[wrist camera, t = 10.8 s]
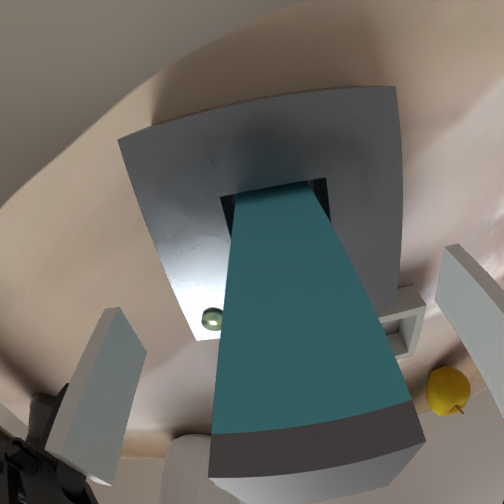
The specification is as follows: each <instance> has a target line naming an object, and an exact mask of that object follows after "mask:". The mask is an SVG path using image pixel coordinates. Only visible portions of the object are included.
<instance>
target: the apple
mask: <svg viewBox="0 0 504 504" xmlns="http://www.w3.org/2000/svg"><path fill="white" fill-rule="evenodd" d="M470 391H471V389H470V383H469V381H468V379H467V378H466V376H465V375H464V374H463V373H462V372H460V371H459V370H457V369H455V368H452V367H450V366H442V367H440V368H437V369H435V370H433V371H431V373H430V375H429V376H428V379H427V383H426V398H427V402H428V404H429V406H430V408H431V409H432V410H433V411H434V412H435V413H436V414H438V415H440V416H447V415H451V414H454V413H456V412H458V411H460V412H461V413H462V414H464V412H463V411H462V410H461V409H463V408H464V406H465V405H466V403H467V401H468V398H469V395H470Z"/></svg>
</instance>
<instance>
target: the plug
mask: <svg viewBox="0 0 504 504" xmlns="http://www.w3.org/2000/svg"><path fill="white" fill-rule="evenodd" d="M425 442H426V439H425V436H424V434H423V430H422V427H421V424H420V422H419V419H418V416H417V413H416V410H415V407H414V404H413V402H412V399H411V396H410V394H409V391H408V388H407V386H406V383H405V381H404V378H403V375H402V373H401V370H400V368H399V365H398V363H397V361H396V358H395V356H394V353H393V351H392V349H391V346H390V344H389V341H388V339H387V337H386V335H385V332H384V330H383V328H382V326H381V323H380V321H379V319H378V317H377V314H376V312H375V310H374V308H373V306H372V304H371V302H370V299H369V297H368V295H367V293H366V291H365V289H364V287H363V285H362V283H361V281H360V279H359V277H358V275H357V273H356V271H355V269H354V267H353V265H352V263H351V261H350V259H349V257H348V255H347V253H346V251H345V249H344V247H343V245H342V243H341V241H340V240H339V238H338V236H337V234H336V232H335V230H334V228H333V227H332V225H331V223H330V221H329V219H328V217H327V216H326V214H325V212H324V210H323V209H322V207H321V205H320V203H319V201H318V200H317V198H316V196H315V195H314V193H313V191H312V189H311V188H310V186H309V184H308V183H307V181H300V182H294V183H288V184H283V185H277V186H272V187H266V188H261V189H256V190H251V191H246V192H241V193H237V196H236V204H235V212H234V219H233V227H232V236H231V244H230V252H229V261H228V269H227V278H226V287H225V296H224V305H223V314H222V323H221V333H220V343H219V352H218V363H217V373H216V384H215V394H214V406H213V417H212V429H211V441H210V454H209V467H208V478H209V479H210V480H212V481H213V482H214V483H216V484H217V485H219V486H220V487H221V488H223V489H224V490H226V491H227V492H229V493H230V494H232V495H233V496H235V497H237V498H238V499H240V500H241V501H243V502H245V503H246V504H303V503H310V502H317V501H323V500H329V499H334V498H340V497H345V496H349V495H354V494H358V493H362V492H366V491H370V490H374V489H377V488H381V487H384V486H388V485H389V484H390V483H391V482H392V481H393V480H394V479H395V477H396V476H397V475H398V474H399V473H400V472H401V471H402V470H403V469H404V467H405V466H406V465H407V464H408V463H409V462H410V460H411V459H412V458H413V457H414V456H415V454H416V453H417V452H418V451H419V450H420V448H421V447H422V446H423V444H424V443H425Z"/></svg>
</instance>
